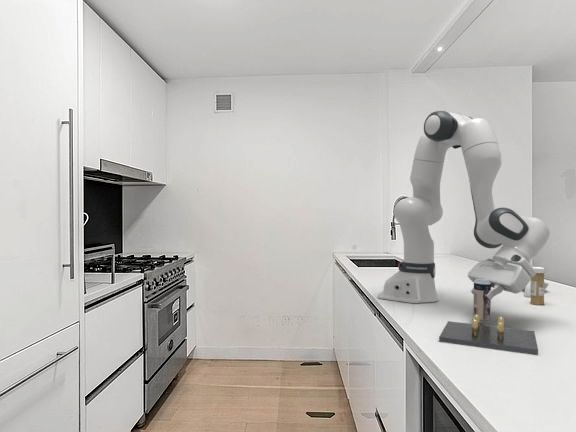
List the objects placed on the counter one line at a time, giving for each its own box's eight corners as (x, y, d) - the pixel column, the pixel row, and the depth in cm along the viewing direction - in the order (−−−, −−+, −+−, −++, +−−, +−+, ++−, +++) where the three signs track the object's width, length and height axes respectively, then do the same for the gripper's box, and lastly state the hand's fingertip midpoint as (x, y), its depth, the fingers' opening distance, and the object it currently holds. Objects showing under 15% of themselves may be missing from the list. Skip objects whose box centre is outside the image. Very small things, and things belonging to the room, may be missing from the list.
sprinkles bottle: (545, 305, 153) (546, 268, 153) (531, 304, 154) (531, 267, 154) (542, 303, 157) (542, 266, 157) (528, 302, 159) (528, 266, 159)
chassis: (439, 341, 110) (439, 321, 110) (448, 325, 126) (448, 307, 126) (538, 354, 100) (538, 332, 99) (534, 335, 115) (534, 316, 115)
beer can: (489, 322, 125) (490, 281, 124) (471, 319, 127) (472, 279, 127) (491, 318, 129) (492, 279, 128) (474, 316, 131) (475, 277, 131)
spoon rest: (517, 288, 191) (517, 272, 191) (548, 290, 185) (548, 274, 185) (514, 296, 170) (515, 278, 170) (549, 300, 164) (549, 281, 164)
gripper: (479, 251, 139) (452, 282, 137) (528, 259, 119) (497, 295, 117) (491, 265, 140) (464, 295, 138) (541, 274, 120) (511, 310, 118)
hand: (480, 295), depth 128 cm, fingers closed on beer can, 5 cm apart
